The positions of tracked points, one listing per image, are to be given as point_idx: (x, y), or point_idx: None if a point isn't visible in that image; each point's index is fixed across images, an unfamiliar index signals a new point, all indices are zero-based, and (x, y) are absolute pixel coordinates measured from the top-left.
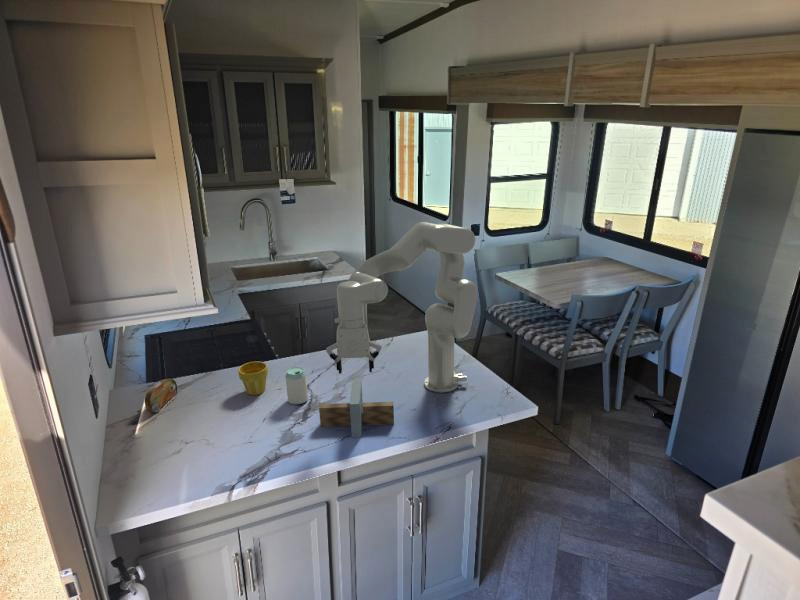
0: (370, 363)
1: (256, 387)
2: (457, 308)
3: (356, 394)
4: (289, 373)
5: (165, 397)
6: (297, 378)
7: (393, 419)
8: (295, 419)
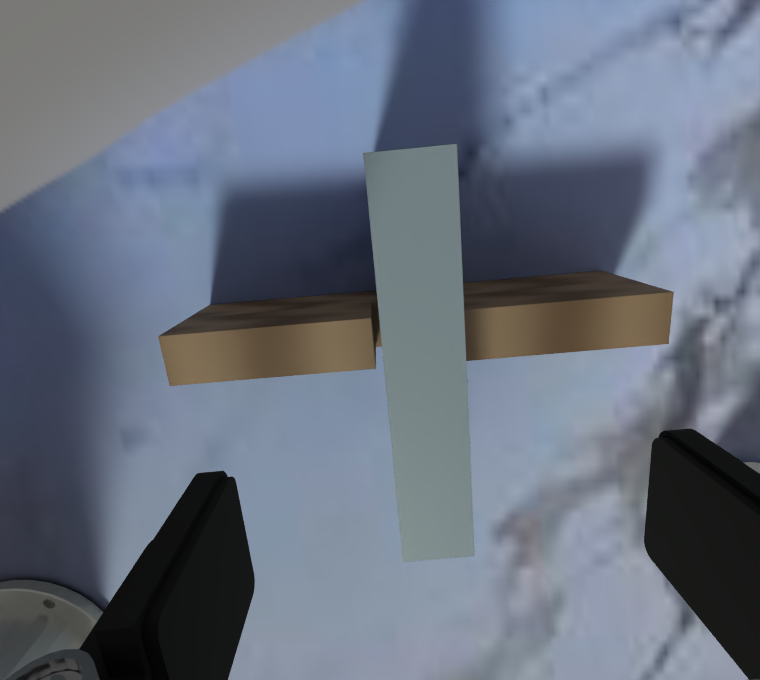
0: (136, 587)
1: None
2: None
3: (413, 324)
4: None
5: None
6: None
7: (201, 310)
8: (739, 336)
